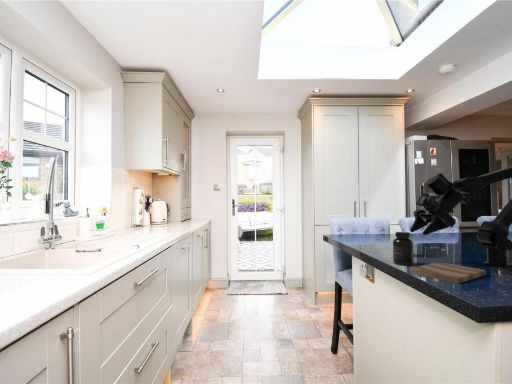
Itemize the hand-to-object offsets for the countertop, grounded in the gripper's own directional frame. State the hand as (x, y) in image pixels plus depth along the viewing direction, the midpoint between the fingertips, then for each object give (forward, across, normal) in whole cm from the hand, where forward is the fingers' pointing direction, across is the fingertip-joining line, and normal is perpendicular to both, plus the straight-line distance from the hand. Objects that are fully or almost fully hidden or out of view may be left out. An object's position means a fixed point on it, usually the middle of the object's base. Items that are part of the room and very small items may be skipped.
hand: (417, 232), depth 103 cm
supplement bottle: (+12, 0, +5) cm, 13 cm away
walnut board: (+7, +14, +10) cm, 19 cm away
